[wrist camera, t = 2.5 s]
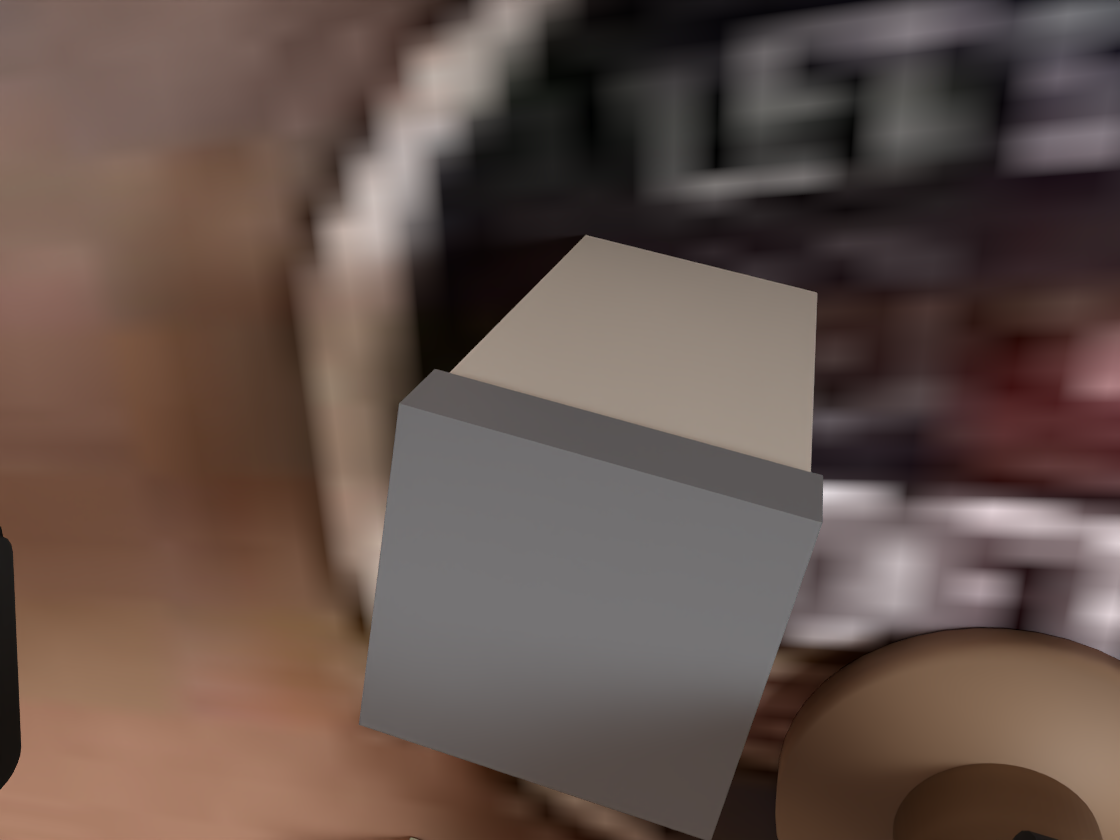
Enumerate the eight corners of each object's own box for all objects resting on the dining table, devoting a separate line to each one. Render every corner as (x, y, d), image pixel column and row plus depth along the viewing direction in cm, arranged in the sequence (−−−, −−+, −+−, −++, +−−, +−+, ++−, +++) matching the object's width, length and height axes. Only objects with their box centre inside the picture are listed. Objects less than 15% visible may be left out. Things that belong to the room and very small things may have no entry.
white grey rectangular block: (581, 227, 17) (399, 403, 10) (825, 288, 16) (821, 522, 9) (539, 442, 19) (359, 724, 12) (757, 504, 18) (710, 841, 11)
